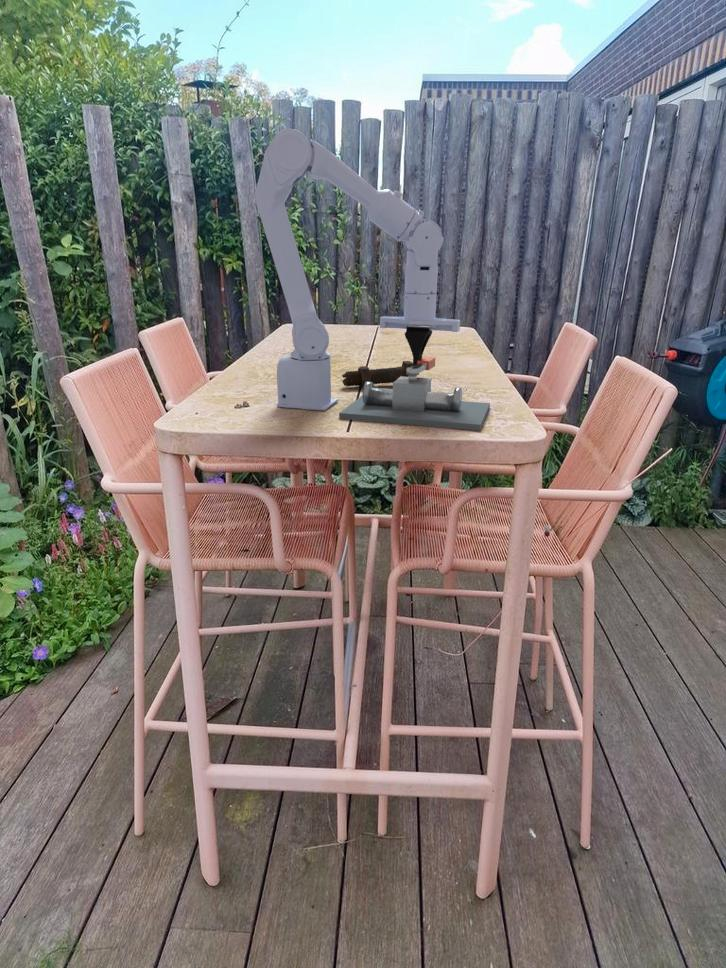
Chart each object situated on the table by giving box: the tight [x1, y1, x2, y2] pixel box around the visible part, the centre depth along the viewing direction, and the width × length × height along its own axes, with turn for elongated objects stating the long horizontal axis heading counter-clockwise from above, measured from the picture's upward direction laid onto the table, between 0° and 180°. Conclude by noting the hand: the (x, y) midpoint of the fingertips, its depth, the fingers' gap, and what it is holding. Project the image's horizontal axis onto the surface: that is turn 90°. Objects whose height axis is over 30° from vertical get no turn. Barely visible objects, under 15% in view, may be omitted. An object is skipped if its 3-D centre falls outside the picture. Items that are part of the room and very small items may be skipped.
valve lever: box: [406, 356, 436, 376], centre depth 107 cm, size 12×2×2 cm, turn 158°
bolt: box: [341, 360, 413, 389], centre depth 125 cm, size 6×5×15 cm
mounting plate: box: [338, 394, 491, 432], centre depth 105 cm, size 24×15×1 cm, turn 73°
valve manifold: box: [362, 375, 463, 412], centre depth 104 cm, size 17×6×6 cm, turn 73°
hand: (417, 369), depth 111 cm, fingers closed, pressing on valve lever
